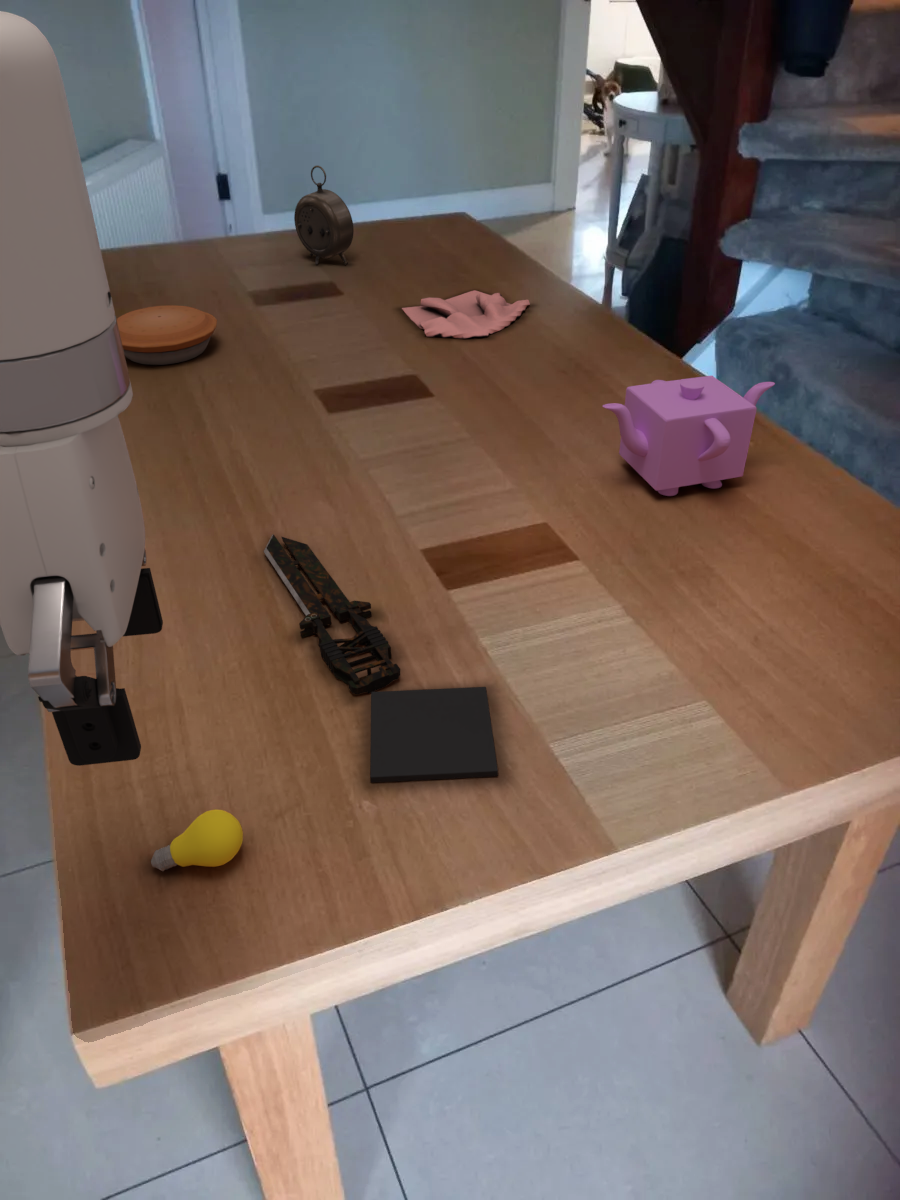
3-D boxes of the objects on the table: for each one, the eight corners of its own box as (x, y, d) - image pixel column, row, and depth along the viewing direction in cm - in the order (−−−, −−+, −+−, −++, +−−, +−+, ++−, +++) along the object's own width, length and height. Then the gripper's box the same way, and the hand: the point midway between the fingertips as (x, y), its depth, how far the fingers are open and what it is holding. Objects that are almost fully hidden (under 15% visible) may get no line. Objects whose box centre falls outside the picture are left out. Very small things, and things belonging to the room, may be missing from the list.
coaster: (370, 783, 65) (370, 777, 64) (371, 697, 72) (371, 691, 72) (497, 776, 65) (498, 770, 65) (485, 692, 72) (486, 686, 72)
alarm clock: (357, 263, 166) (351, 166, 157) (337, 271, 163) (329, 172, 153) (313, 253, 172) (304, 159, 162) (293, 260, 168) (283, 164, 159)
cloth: (418, 343, 134) (418, 327, 132) (395, 296, 151) (395, 281, 150) (553, 333, 137) (554, 317, 136) (515, 288, 154) (516, 273, 153)
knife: (258, 543, 90) (256, 531, 89) (322, 530, 92) (320, 518, 91) (331, 704, 71) (330, 690, 70) (409, 683, 73) (409, 669, 72)
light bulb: (256, 859, 59) (235, 842, 56) (169, 895, 59) (143, 880, 56) (245, 812, 61) (224, 794, 58) (161, 847, 61) (136, 830, 58)
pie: (183, 324, 141) (178, 291, 138) (241, 350, 132) (237, 316, 129) (90, 350, 132) (81, 316, 129) (145, 380, 123) (137, 344, 120)
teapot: (646, 435, 109) (658, 346, 103) (758, 462, 103) (778, 370, 97) (592, 489, 99) (602, 394, 92) (714, 523, 93) (733, 424, 86)
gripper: (-13, 308, 44) (76, 599, 54) (-150, 482, 30) (4, 830, 40) (149, 299, 44) (207, 587, 55) (89, 464, 31) (181, 810, 41)
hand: (121, 690), depth 47 cm, fingers open, 9 cm apart
